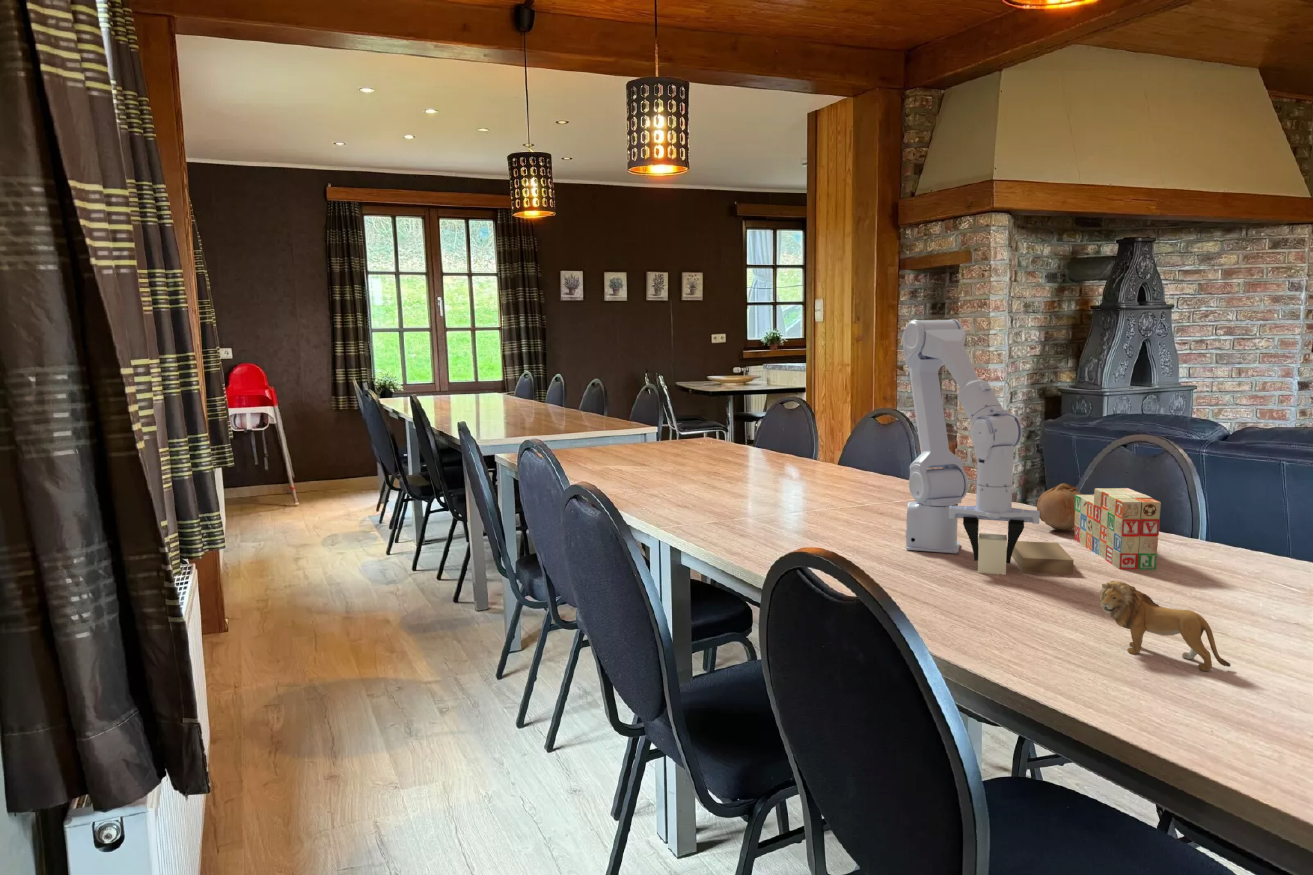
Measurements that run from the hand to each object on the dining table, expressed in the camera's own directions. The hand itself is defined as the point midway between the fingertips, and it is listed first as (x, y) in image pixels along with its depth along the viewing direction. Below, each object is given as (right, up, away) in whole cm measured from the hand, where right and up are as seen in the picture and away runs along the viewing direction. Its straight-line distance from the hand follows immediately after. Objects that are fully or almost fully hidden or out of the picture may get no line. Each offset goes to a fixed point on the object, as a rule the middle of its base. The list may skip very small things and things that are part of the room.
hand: (992, 560), depth 145 cm
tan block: (+10, -2, +4) cm, 11 cm away
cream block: (0, -2, 0) cm, 2 cm away
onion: (+25, +2, +27) cm, 37 cm away
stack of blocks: (+26, 0, +9) cm, 28 cm away
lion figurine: (+5, -7, -39) cm, 40 cm away
